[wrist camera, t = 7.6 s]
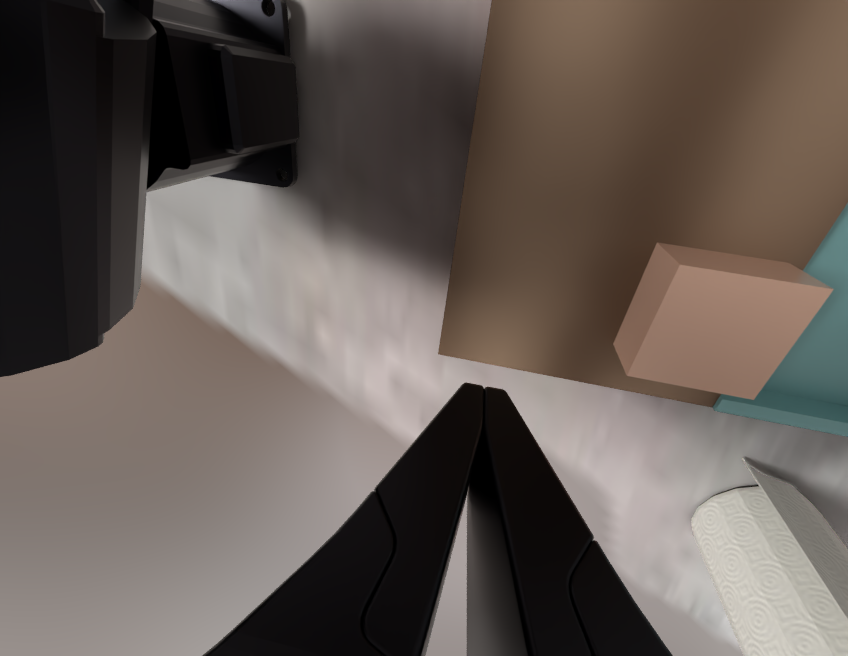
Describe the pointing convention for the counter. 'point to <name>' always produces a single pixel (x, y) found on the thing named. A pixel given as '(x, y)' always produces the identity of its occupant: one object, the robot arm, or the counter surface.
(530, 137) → the walnut plate
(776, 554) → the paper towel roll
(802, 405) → the tray
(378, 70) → the counter surface
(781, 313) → the terracotta block
